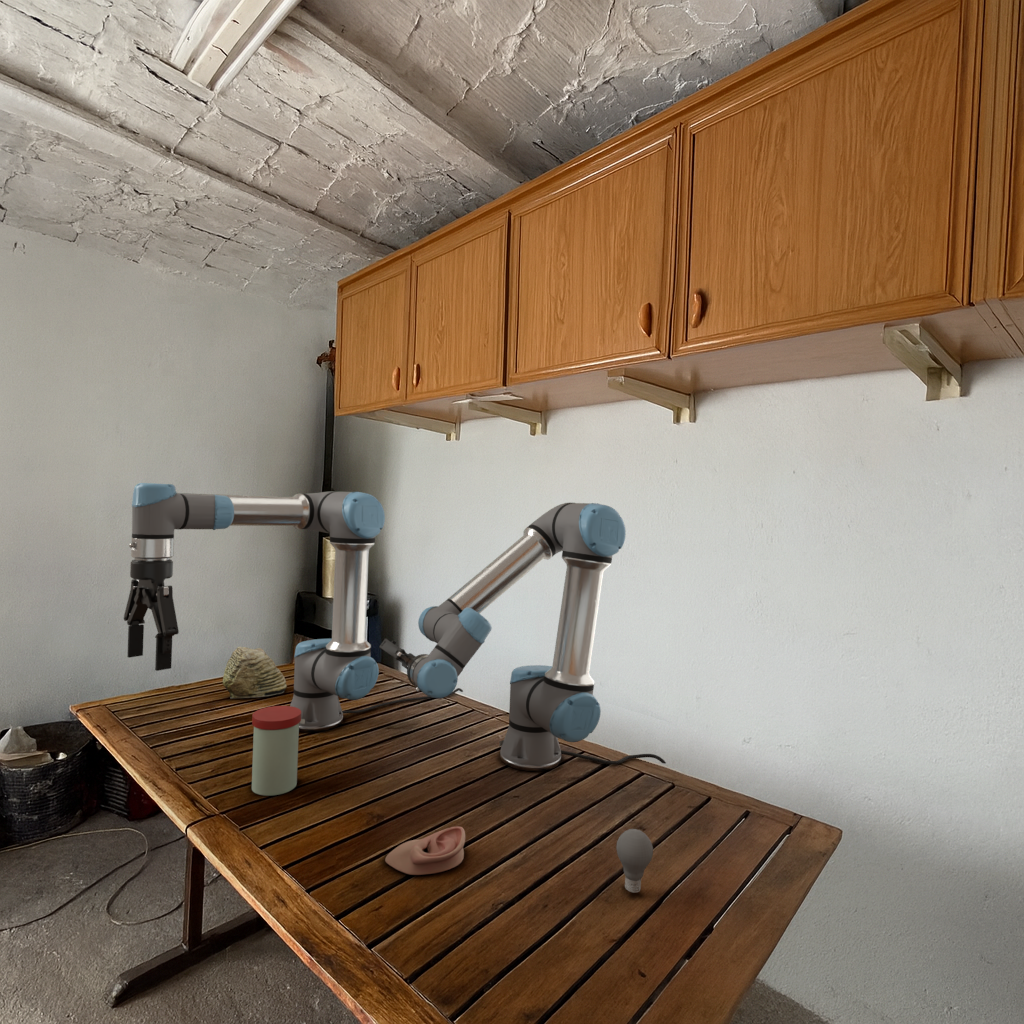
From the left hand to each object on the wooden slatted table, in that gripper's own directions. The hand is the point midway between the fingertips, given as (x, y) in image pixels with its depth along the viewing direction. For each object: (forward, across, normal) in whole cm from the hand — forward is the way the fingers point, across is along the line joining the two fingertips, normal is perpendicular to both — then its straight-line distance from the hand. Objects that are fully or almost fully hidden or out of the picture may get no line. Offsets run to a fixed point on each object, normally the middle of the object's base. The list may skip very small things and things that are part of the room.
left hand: (148, 662), depth 129 cm
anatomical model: (+28, +58, +24) cm, 69 cm away
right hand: (+6, +20, +54) cm, 58 cm away
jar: (+28, +14, +21) cm, 38 cm away
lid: (+12, +14, +21) cm, 28 cm away
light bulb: (+28, +90, +41) cm, 103 cm away
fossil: (+28, -47, +50) cm, 74 cm away
